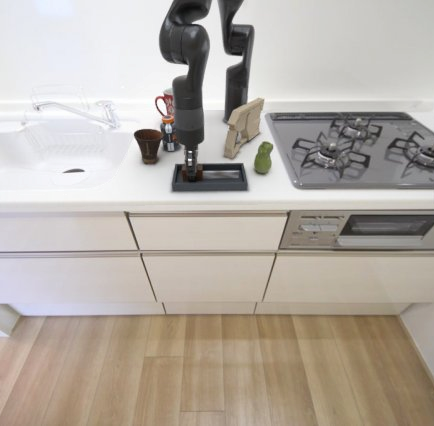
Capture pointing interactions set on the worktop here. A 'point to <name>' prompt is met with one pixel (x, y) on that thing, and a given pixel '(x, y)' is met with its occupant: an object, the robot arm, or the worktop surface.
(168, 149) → the pill bottle
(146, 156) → the cup
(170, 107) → the mug
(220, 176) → the knife
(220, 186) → the dark grey tray
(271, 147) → the pear
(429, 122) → the worktop surface
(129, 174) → the worktop surface
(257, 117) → the gun
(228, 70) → the robot arm
